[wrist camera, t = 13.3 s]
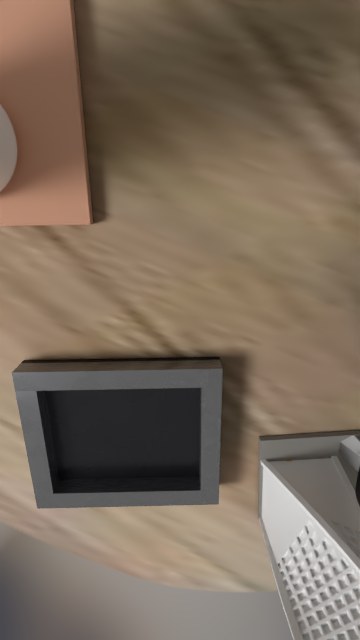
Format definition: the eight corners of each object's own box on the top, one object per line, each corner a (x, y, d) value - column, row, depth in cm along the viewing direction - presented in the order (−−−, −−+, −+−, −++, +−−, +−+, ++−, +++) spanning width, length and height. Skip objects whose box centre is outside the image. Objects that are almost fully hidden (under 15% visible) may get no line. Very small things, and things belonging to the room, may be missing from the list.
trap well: (219, 357, 21) (222, 368, 19) (215, 485, 24) (218, 504, 23) (23, 360, 21) (11, 372, 19) (46, 489, 24) (37, 508, 22)
